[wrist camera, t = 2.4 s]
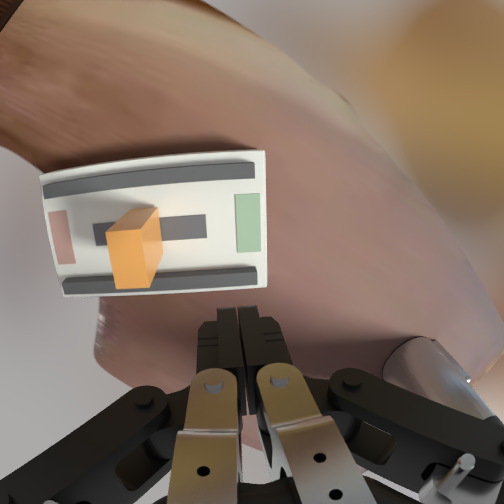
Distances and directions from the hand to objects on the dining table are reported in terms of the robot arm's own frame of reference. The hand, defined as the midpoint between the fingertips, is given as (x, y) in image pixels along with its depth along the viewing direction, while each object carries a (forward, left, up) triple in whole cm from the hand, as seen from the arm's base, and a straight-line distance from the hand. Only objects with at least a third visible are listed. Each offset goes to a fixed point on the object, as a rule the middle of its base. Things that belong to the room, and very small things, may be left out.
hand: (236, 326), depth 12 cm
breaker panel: (+6, 0, -19) cm, 20 cm away
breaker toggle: (+7, 0, -15) cm, 16 cm away
